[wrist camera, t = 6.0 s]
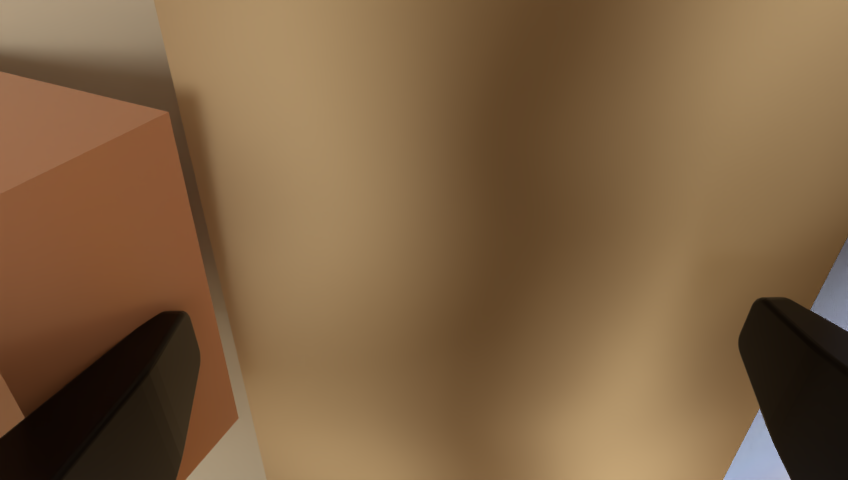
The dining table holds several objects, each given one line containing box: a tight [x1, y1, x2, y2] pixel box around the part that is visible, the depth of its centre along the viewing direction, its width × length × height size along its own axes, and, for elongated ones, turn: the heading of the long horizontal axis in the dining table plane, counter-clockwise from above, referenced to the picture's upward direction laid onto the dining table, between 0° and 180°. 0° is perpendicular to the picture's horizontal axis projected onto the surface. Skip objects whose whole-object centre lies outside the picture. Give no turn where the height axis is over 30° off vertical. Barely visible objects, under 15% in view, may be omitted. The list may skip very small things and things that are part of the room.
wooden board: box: [154, 0, 848, 480], centre depth 11 cm, size 11×20×2 cm, turn 179°
